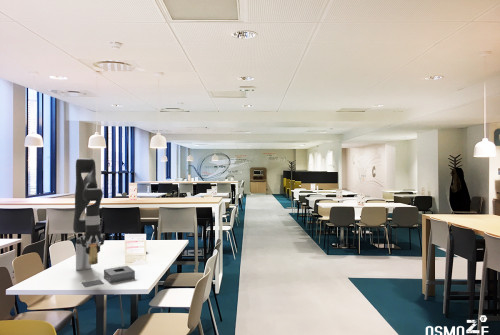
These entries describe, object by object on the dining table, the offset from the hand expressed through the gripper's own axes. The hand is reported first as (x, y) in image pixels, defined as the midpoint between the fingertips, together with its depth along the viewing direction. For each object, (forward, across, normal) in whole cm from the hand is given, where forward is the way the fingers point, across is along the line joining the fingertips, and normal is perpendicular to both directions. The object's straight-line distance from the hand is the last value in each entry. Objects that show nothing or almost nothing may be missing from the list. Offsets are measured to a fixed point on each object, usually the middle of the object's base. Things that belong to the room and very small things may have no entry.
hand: (92, 253), depth 204 cm
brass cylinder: (+6, 0, 0) cm, 6 cm away
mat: (+18, 0, 0) cm, 18 cm away
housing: (+18, -15, -1) cm, 23 cm away
